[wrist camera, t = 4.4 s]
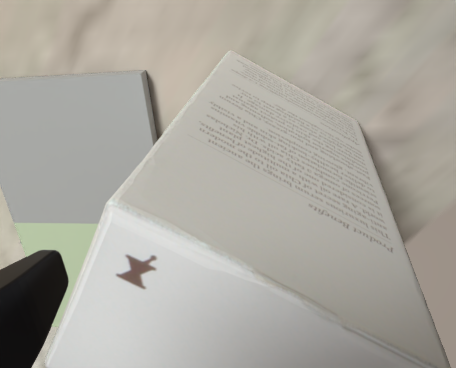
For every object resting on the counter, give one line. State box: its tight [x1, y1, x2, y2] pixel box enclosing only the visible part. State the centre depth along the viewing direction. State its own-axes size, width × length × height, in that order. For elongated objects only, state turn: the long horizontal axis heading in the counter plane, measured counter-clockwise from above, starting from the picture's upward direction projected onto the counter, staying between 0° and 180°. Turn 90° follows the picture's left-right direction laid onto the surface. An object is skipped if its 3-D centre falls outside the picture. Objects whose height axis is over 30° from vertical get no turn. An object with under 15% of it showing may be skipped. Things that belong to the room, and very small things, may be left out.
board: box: [0, 70, 157, 327], centre depth 21 cm, size 8×14×1 cm, turn 5°
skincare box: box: [45, 50, 451, 368], centre depth 12 cm, size 6×4×12 cm
